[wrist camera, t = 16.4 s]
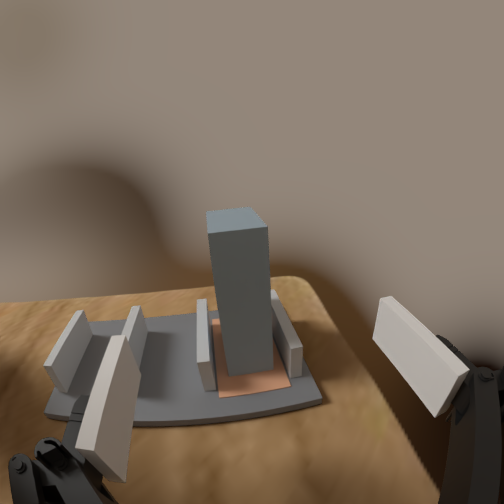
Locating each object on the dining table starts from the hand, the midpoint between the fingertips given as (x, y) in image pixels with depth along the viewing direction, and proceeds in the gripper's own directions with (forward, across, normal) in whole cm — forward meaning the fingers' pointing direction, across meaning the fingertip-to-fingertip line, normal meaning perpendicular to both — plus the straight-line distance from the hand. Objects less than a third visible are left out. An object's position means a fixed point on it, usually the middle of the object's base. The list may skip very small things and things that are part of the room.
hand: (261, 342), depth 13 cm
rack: (+11, -7, -10) cm, 17 cm away
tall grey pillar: (+11, 0, -9) cm, 14 cm away
